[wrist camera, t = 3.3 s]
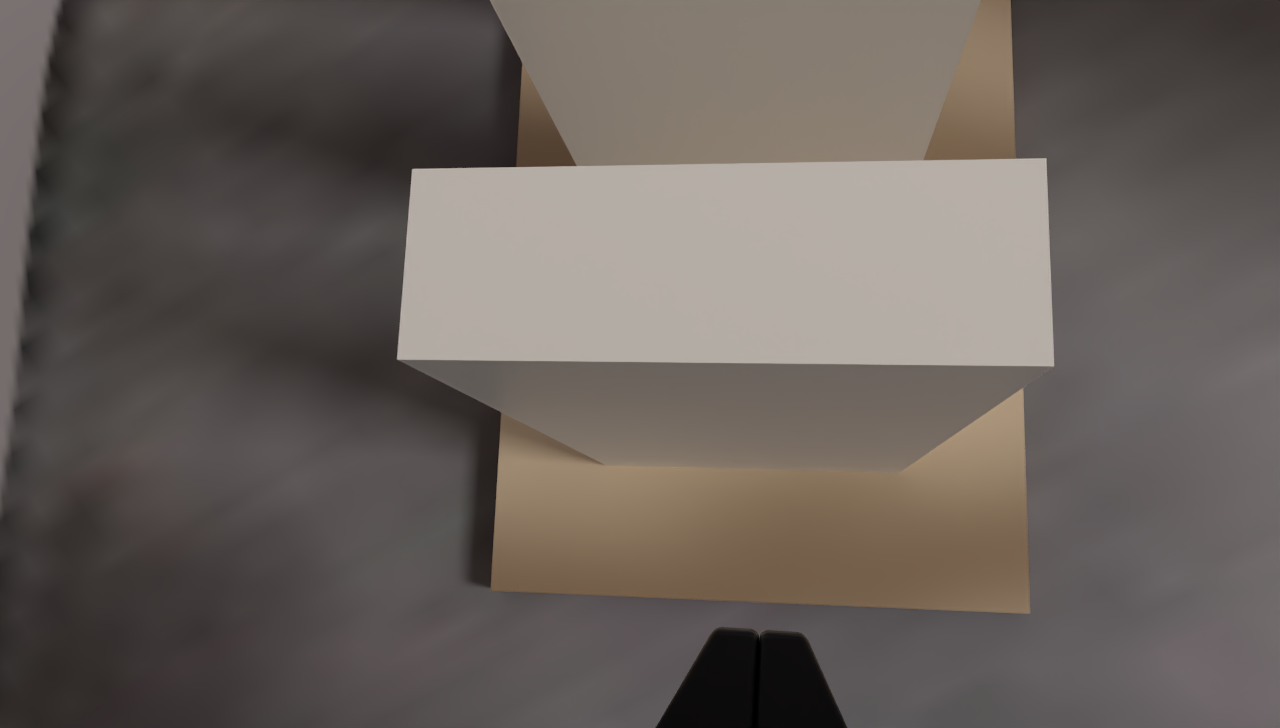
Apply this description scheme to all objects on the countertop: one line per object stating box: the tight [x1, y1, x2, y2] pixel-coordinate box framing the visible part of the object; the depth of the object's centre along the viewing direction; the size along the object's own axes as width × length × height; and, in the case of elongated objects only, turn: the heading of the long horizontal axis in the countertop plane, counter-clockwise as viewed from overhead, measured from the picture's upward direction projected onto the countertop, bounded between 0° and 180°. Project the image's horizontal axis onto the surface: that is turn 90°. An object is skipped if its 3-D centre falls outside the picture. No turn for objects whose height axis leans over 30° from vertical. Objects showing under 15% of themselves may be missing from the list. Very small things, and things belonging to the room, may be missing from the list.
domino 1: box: [397, 158, 1054, 473], centre depth 13 cm, size 2×5×10 cm, turn 88°
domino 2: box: [490, 0, 981, 166], centre depth 14 cm, size 2×5×10 cm, turn 88°
